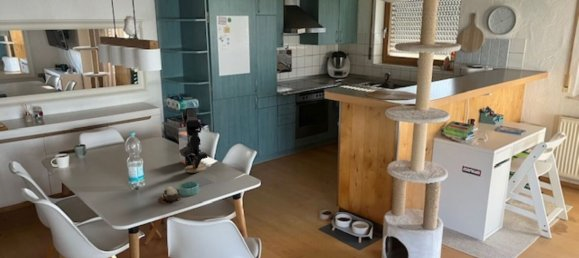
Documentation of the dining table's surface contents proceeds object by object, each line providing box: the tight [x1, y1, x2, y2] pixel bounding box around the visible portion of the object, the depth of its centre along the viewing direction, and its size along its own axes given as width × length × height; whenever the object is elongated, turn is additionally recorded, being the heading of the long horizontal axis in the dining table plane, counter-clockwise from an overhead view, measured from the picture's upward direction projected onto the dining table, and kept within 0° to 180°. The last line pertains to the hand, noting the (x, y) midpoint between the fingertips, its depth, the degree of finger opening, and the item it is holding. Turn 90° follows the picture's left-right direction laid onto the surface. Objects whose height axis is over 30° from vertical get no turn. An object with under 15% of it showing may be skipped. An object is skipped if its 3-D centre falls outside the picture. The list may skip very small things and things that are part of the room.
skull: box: [158, 186, 182, 205], centre depth 236 cm, size 12×10×10 cm
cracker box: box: [178, 131, 188, 165], centre depth 290 cm, size 14×6×21 cm, turn 41°
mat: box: [186, 176, 215, 188], centre depth 260 cm, size 12×12×1 cm
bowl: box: [178, 181, 200, 196], centre depth 246 cm, size 11×11×4 cm
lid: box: [184, 161, 207, 174], centre depth 251 cm, size 12×12×5 cm
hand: (195, 167), depth 251 cm, fingers closed on lid, 3 cm apart
